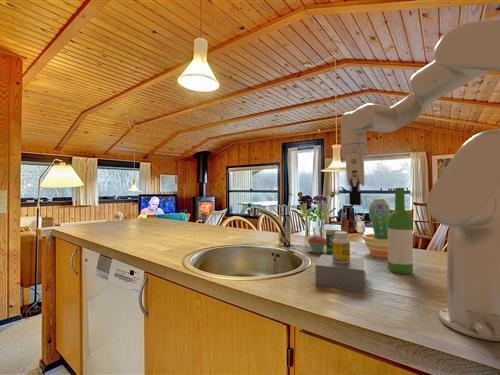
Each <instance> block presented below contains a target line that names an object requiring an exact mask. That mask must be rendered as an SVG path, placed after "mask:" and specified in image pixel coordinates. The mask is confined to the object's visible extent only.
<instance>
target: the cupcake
mask: <svg viewBox="0 0 500 375" xmlns="http://www.w3.org/2000/svg"><path fill="white" fill-rule="evenodd" d="M315 231H316V229H315V227H314V226H312V232H313V236H312V237H310V238H309V239H307V240H308V241H307V243H308V245H309V246H310V248H311V252H313V253H318V254H319V253H323V251H324V248H325V247H326V238H324V237H322V236H318V235H316V232H315Z"/></svg>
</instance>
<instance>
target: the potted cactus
mask: <svg viewBox="0 0 500 375" xmlns="http://www.w3.org/2000/svg"><path fill="white" fill-rule="evenodd" d="M390 214H391V208H390V206H389V204H388V202H387V201H386V200H385V199H384V198H382V199H381V198H377V199H376V198H374V199H373V200H372V202H371V203H370V205H369V206H368V216H369V219H370V222H371V225H372V230H373V233H364V234H362V235H361V237H362V240H363V241H364V242H365V246H366V248H367V249H368V250H369V254H370V255H371V256H374V257H379V258H388V217H389V215H390Z"/></svg>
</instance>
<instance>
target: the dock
mask: <svg viewBox="0 0 500 375" xmlns="http://www.w3.org/2000/svg"><path fill="white" fill-rule="evenodd" d="M314 269H315V285H320V286H327V287H333V288H334V287H336V288H341V289H347V290H348V289H349V290H354V291H355V290H356V291H362V292H363V291H365V279H366V278H367V274H366V273H367V272H366V259H365V258H363V257H356V256H355V257H353V256H352V257H351V256H350V262H349V263H347V264H340V263H335V262H334V261H333V255H327V254H321V255H320V257H319V258H318V260H317V262H316V263H315V268H314Z"/></svg>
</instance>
